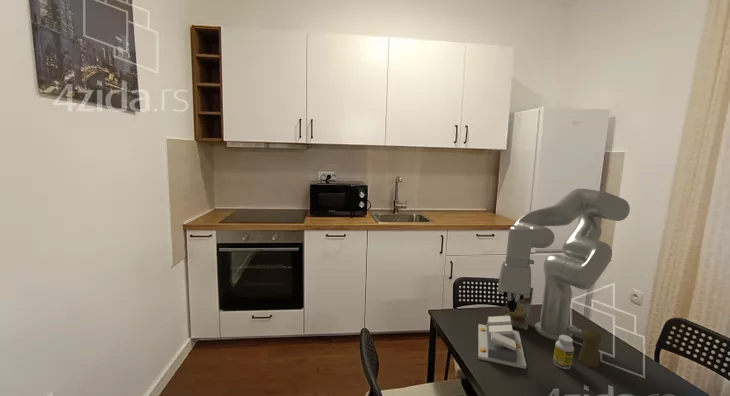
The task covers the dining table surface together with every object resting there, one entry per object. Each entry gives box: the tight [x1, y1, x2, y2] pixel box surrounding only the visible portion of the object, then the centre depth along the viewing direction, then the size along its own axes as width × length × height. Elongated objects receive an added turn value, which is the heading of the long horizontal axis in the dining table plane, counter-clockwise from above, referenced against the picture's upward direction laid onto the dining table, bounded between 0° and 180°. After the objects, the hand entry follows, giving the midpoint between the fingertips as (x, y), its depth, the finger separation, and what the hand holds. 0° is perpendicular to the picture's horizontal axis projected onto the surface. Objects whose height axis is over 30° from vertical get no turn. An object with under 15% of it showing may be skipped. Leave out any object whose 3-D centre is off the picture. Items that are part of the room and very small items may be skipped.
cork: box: [577, 329, 602, 368], centre depth 114 cm, size 6×6×11 cm
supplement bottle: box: [552, 335, 575, 370], centre depth 112 cm, size 5×5×10 cm
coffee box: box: [504, 287, 534, 331], centre depth 137 cm, size 9×6×16 cm
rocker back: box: [487, 315, 511, 325], centre depth 128 cm, size 8×4×2 cm, turn 71°
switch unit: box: [477, 318, 527, 370], centre depth 122 cm, size 15×22×4 cm
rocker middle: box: [489, 325, 514, 335], centre depth 122 cm, size 8×4×2 cm, turn 71°
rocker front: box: [491, 331, 516, 351], centre depth 115 cm, size 8×4×2 cm, turn 72°
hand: (511, 310), depth 119 cm, fingers closed
